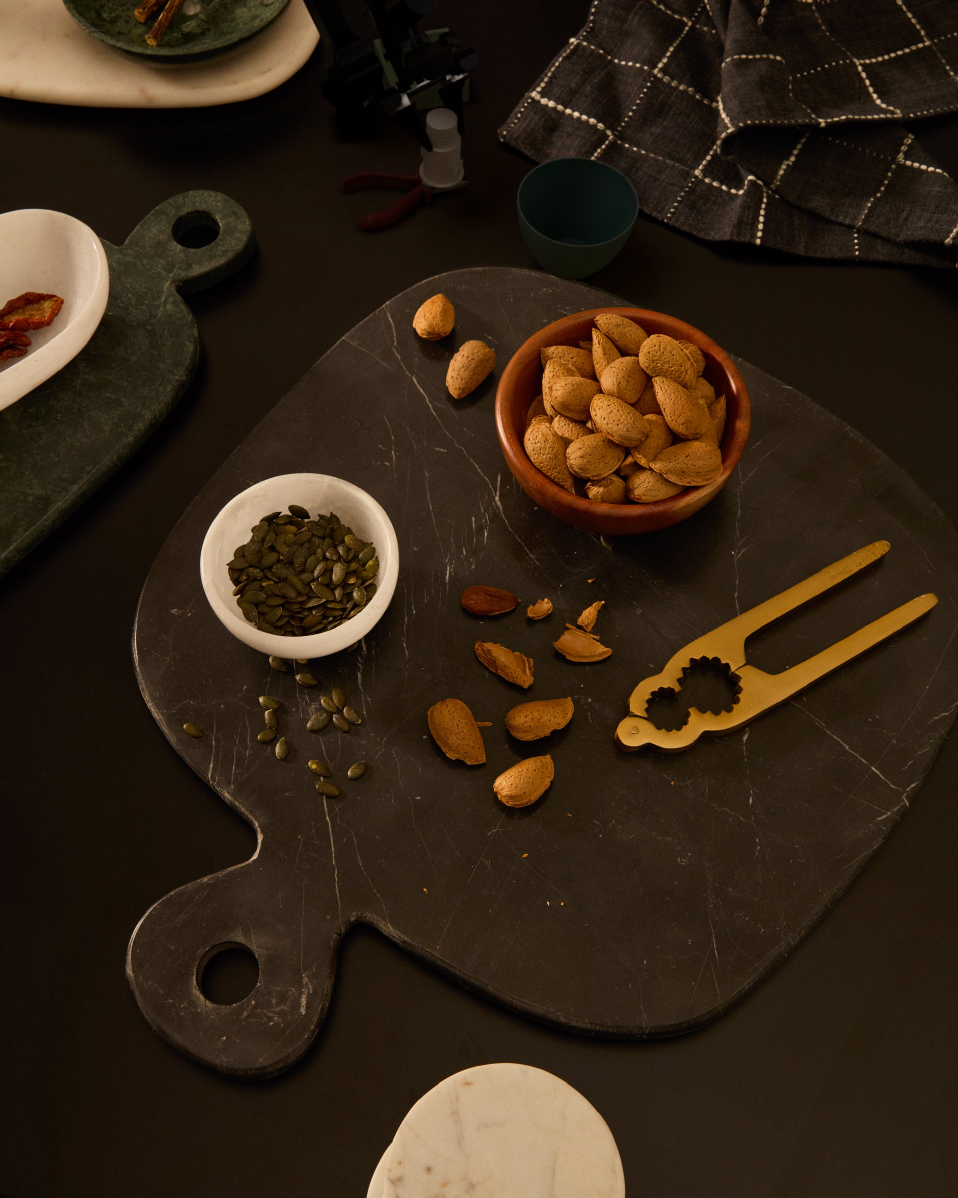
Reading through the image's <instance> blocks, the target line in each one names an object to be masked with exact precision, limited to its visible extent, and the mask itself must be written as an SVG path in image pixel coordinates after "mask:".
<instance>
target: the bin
mask: <svg viewBox="0 0 958 1198" xmlns="http://www.w3.org/2000/svg"><path fill="white" fill-rule="evenodd" d="M448 30H450V28H449V27H444V28H438V29H432V30H424V31H425V32H426V33H427V34H428V37H429V39H430V40H431V42H435V41H437V40H439V35H440V34H442V33H444V32H446V31H448ZM373 47H374V48H373V50H374V52H375V54H376V56H377V57H378V58H379V60H380V62H381V64H382V67H383V70H384V75H383V80H382V86H383V88H384V91H385V90H387V89H389V88H391V87H393V86H394V87H395V88H396V89H397V90H398V88H397V86H396V82H398V81H399V80H398V78H397V76H396V73H395V71H394V69H393V67H392V64H391V62H390V60H387V61H385V59H384V56H383V54H384V53H385V52H386V51H385V49H384V46H383V44H382V42H381V39H380V38H375V39H373ZM468 73H469V72H466V73H464V74H463V75H464V76H466V75H468ZM423 79H424V81H426V79H425V78H423ZM430 82H431V81H430ZM413 83H414V84H412V85H410V87H411V88H413V87H415V86H417V83H416V81H415V82H413ZM440 89H442V88H441V85H440V83H438V84H436V85H434V86H432V87H430V88H428V89H426V90H424V91H422V92H420V93H418V94H416V95H414V96H413V97H411V98H409V101H410V103H411V104H413V103H414V102H416V104H417V111H423V110H427V109H433V108H440V107H445V106H444V104H443V102H442V100H441V98H440V96H439V94H438V92H437V91H438V90H440ZM469 101H470V78H469V79H467V80H466V81H465V83H464V87H463V91H462V103H466V102H469Z"/></svg>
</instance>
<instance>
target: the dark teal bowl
mask: <svg viewBox="0 0 958 1198" xmlns="http://www.w3.org/2000/svg"><path fill="white" fill-rule="evenodd" d="M517 190H518V191H517V196H516V197H517V198H516V209H517V210H516V211H517V218H518V224H519V228H520V232H521V235H522V239H523V241H524V243H525V246H526V248H527V249H528V251H529V253H530V255H531V256H532V258H533V259H534V260H535V261H536V263H537V264H539V266H540V267H542V268H543V269H544V270H545V271H546V272H547V273H549V274H550V275H551V276H553V275H555V276H554V277H556V276H557V277H556V278H558V277H560V278H559V279H561V278H563V279H562V280H565V279H566V280H567V281H575V280H581V279H584V278H586V277H589V276H591V275H594V274H595V273H597V272H599V271H600V270H602V269H603V268H605V267H606V266H607V265H608V264H610V262H611V261H613V259H614V258H615V257H617V255H618V254H619V252H620V251H621V250H622V248H623V247H624V245H625V244H626V242H627V241H628V239H629V237H630V235H631V233H632V231H633V228H634V226H635V224H636V221H637V217H638V213H639V207H640V206H639V197H638V193H637V190H636V188H635V187H634V185H633V183H632V182H631V181H630V180H629V178H627V177H626V176H625V174H623V172H621V171H619V170H618V169H617V168H615V167H613V166H612V165H609V164H607V163H605V162H604V161H600V160H597V159H593V158H588V157H582V156H564V157H558V158H553V159H550V160H547V161H544V162H542V163H541V164H538V165H537V166H535V167H534V168H532V169H531V170H530V171H529V172H527V174H526V175H525V176H524V177H523V179H522V181H521V182H520V184H519V187H518V189H517Z"/></svg>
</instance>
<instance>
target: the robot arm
mask: <svg viewBox="0 0 958 1198" xmlns="http://www.w3.org/2000/svg"><path fill="white" fill-rule="evenodd" d="M440 1H441V0H363V3H362V7H361V9H362V10H361V11H362V14H363V15H364V16H365V15H366V16H367V15H369V17H370V19H371V21H372V23H373V25H374V28H375V30H376V33H377V35H378V37H379V39H381V42H382V44H383V46H384V49H385V51H386V52H385V53H384V54H383V56H384V59H385V61H387V60H390V62H391V64H392V67H393V69H394V71H395V73H396V76H397V78H398V80H399V81H398V82H396V86H397V88H398V90H397V89H396V88H395V87H394V86H393V87H391V88H389V89H387V90H385V89H384V90H383V91H381V89H382V85H383V83H382V80H383V75H384V70H383V67H382V64H381V62H380V60H379V58H378V57H377V56H376V54H375V50H374V48H373V44H372V43H371V40H370V39H369V38H368V37H367V36H366V35H363V36H359V35H358V34H357V33H355V32H354V30H352V29H351V27H350V25H349V22H348V21H347V20H348V19H347V18H346V16H345V14H344V11H343V10H342V8H341V6H340V4H339V1H338V0H302V2H303V4H304V6H305V8H306V10H307V13H308V14H309V16H310V18H311V20H312V22H313V24H314V26H315V29H316V30H317V33H318V35H319V37H320V39H321V41H322V43H323V45H324V50H325V51H324V52H325V53H324V70H325V72H326V75H327V78H326V79H324V80H323V81H322V82H321V83H319V87H320V91H321V93H322V97H323V98H324V99H325V100H326V101H327V102H328V103H329V104H330V105H331V106H332V107H333V108H335V110H336V112H335V113H333V114H332V119H333V120H332V121H333V122H334V126H335V129H336V132H337V134H338V138H339V140H340V141H341V142H346V141H352V140H358V139H363V138H368V137H374V136H377V135H378V130H377V127H376V124H375V121H376V120H378V119H380V118H382V117H384V116H385V115H387V114H388V116H386V117H385V120H386V121H387V122H388V121H391V120H392V121H393V122H394V123H395V124H397V125H398V126H400V127H401V129H403V130H405V132H407V134H409V135H410V136H411V137H412V138H413V139H414V140H415V141H416V142H417V143H418V144H419V145H420V146H421V147H422V146H423V147H424V148H425V149H426V150H427V151H428V152H432V151H433V147H432V144H431V142H430V139H429V137H428V135H427V133H426V129H425V127H424V125H423V122H422V120H421V118H420V116H419V114H418V110H417V104H416V102H414V103H413V104H411V103H410V101H409V98H411V97H413V96H414V95H416V94H418V93H420V92H422V91H424V90H426V89H428V88H430V87H432V86H434V85H436V84H438V83H440V85H441V88H442V89H440V90H438V91H437V92H438V94H439V96H440V98H441V100H442V102H443V104H444V106H443V107H444V108H446V109H449V110H451V111H453V112H454V113H455V114H456V116H457V131H458V132H459V134H460V136H463V135H466V134H465V133H466V131H465V118H464V108H463V102H462V91H463V87H464V83H465V81H466V80H467V79H469V80H470V76H469V75H470V74H468V75H466V76H464V75H463V74H464V73H466V72H467V73H469V72H470V71H472V70H473V69H476V68H477V67H479V66H481V65H483V63H482V60H481V58H480V55H479V52H478V51H476V50H475V49H474V48H472V47H471V46H469V47H468V48H465V49H463V50H462V45H461V42H460V40H459V38H458V36H457V34H456V32H455V30H452V29H449V30H448V31H446V32H444V33H442V34H440V35H439V40H437V41H435V42H431V40H430V39H429V37H428V34H427V33H426V32H425V31H426V30H423V31H421V29H420V27H419V25H418V23H420V22H421V21H423V20H424V19H425V18H427V17H428V16H430V15H431V14H433V13H434V12H435V11H436V10H437V8H438V7H439V4H440ZM423 78H425V79H426V81H424V79H423ZM415 81H416V83H417V86H415V87H413V88H411V87H410V85H412V84H414V83H413V82H415ZM430 81H431V82H430ZM380 91H381V92H380ZM378 92H380V93H378ZM375 93H377V94H375ZM373 94H375V95H373ZM371 95H373V96H372V97H370V96H371Z"/></svg>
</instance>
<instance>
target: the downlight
mask: <svg viewBox="0 0 958 1198" xmlns="http://www.w3.org/2000/svg"><path fill="white" fill-rule="evenodd" d="M425 119H426V129H425V131H426V133H427V135H428V137H429V139H430V142H431V144H432V147H433V151H432V152H428V151H427V150H426V149H425V148H424V147H423V146H422V145H421V147H420V156H421V157H422V162H421V164H420V166H419V170H418V171H419V173H420V177H421V178H422V180H423V181H424V182H425V183H427V184H428V185H430V186H433V187H436V188H448V187H452V186H454V185H456V184H458V183H459V182H460V181H462V180H463V177H464V175H465V172H464V169H465V168H464V159H463V158H462V159H461V150H462V147H461V146H462V135H460V134H459V132H458V131H457V116H456V114H455V113H454V112H453V111H451V110H449V109H446V108H445V107H436V108H434V109H432V110H430V111H429V112H428V113H427V115H426V118H425Z"/></svg>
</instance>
